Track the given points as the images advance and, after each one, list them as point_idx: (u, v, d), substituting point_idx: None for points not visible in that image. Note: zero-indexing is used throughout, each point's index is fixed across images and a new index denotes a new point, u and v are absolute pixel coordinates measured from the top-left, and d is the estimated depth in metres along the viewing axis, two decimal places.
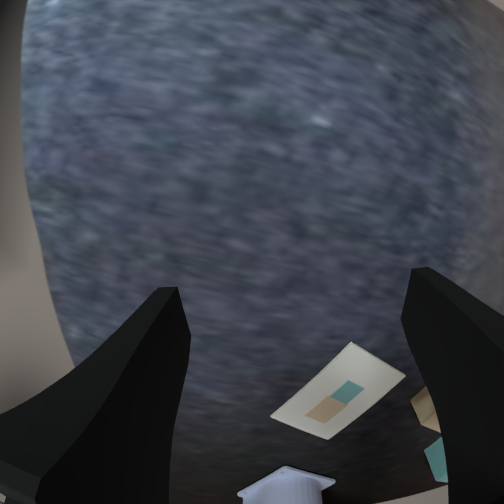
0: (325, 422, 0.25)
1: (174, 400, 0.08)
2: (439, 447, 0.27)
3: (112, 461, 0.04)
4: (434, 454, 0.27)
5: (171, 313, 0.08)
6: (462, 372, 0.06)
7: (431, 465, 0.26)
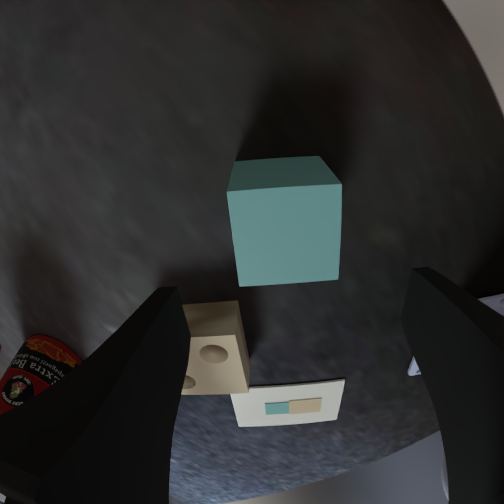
0: (320, 397, 0.26)
1: (174, 400, 0.08)
2: None
3: (112, 461, 0.04)
4: None
5: (171, 313, 0.08)
6: (462, 372, 0.06)
7: None
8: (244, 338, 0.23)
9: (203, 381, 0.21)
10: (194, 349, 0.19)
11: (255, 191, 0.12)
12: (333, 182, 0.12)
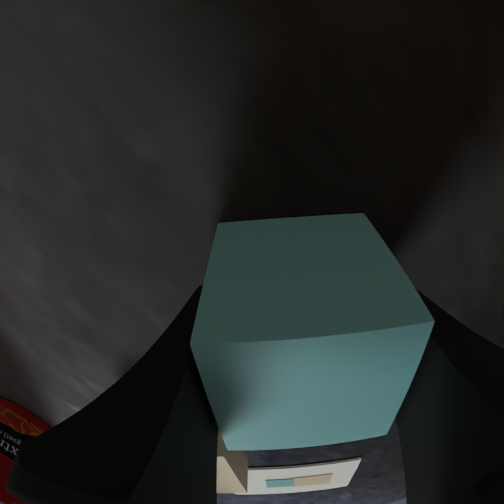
0: (331, 473, 0.20)
1: None
2: None
3: (180, 471, 0.04)
4: None
5: None
6: (417, 383, 0.06)
7: None
8: None
9: None
10: None
11: (254, 346, 0.05)
12: (417, 314, 0.05)
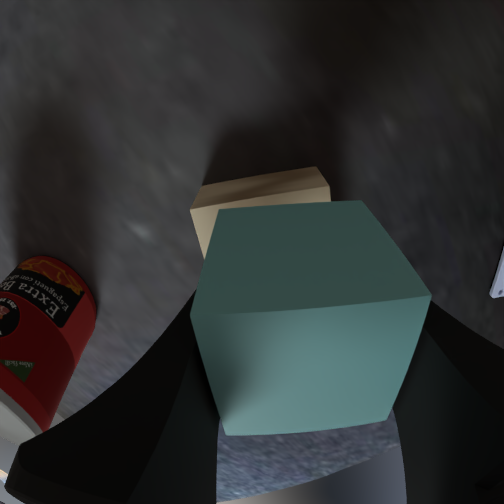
0: None
1: None
2: None
3: (179, 470, 0.04)
4: None
5: None
6: (418, 383, 0.06)
7: None
8: None
9: None
10: None
11: (253, 317, 0.06)
12: (413, 288, 0.06)
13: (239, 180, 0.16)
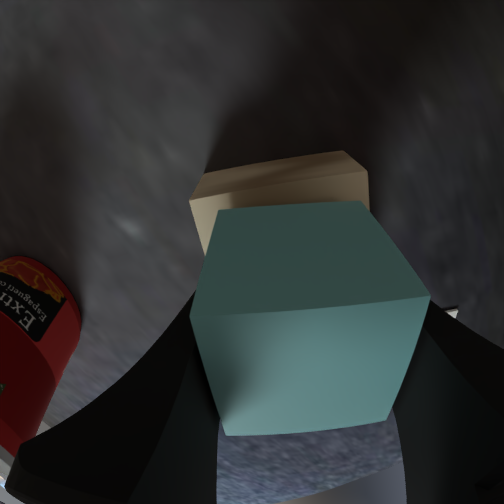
0: None
1: None
2: None
3: (180, 471, 0.04)
4: None
5: None
6: (418, 383, 0.06)
7: None
8: None
9: None
10: None
11: (253, 318, 0.06)
12: (413, 289, 0.06)
13: (250, 166, 0.13)
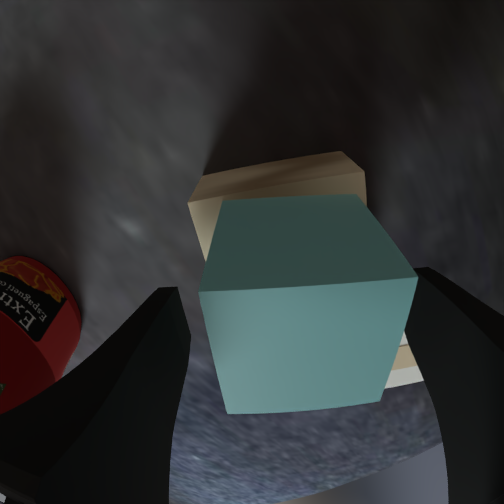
0: None
1: (174, 400, 0.08)
2: None
3: (112, 461, 0.04)
4: None
5: (171, 313, 0.08)
6: (462, 372, 0.06)
7: None
8: None
9: None
10: None
11: (256, 293, 0.06)
12: (402, 271, 0.06)
13: (248, 167, 0.13)
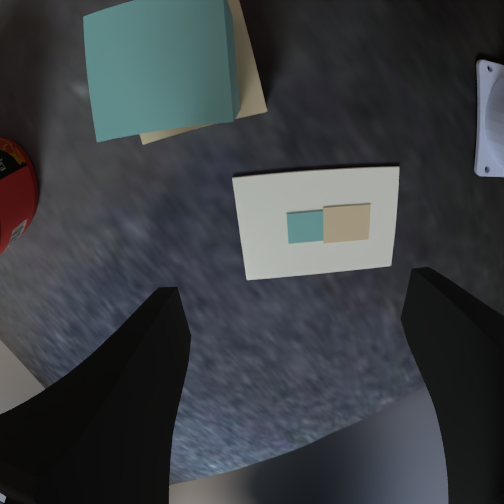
0: (368, 203, 0.19)
1: (174, 400, 0.08)
2: None
3: (112, 461, 0.04)
4: None
5: (171, 313, 0.08)
6: (462, 372, 0.06)
7: None
8: None
9: None
10: None
11: (113, 9, 0.07)
12: None
13: None
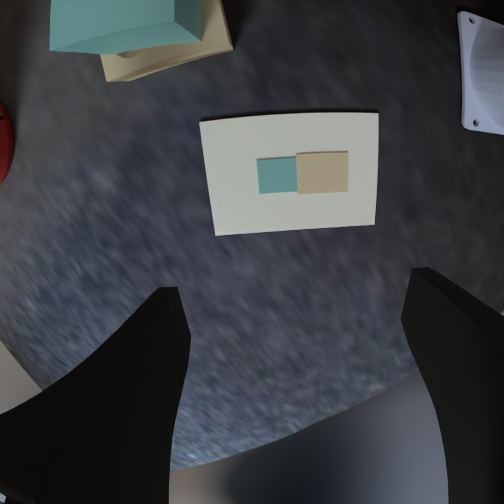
0: (345, 151, 0.17)
1: (174, 400, 0.08)
2: (149, 43, 0.11)
3: (112, 461, 0.04)
4: (168, 39, 0.10)
5: (171, 313, 0.08)
6: (462, 372, 0.06)
7: (183, 33, 0.09)
8: (222, 6, 0.13)
9: None
10: None
11: None
12: None
13: None
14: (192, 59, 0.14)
